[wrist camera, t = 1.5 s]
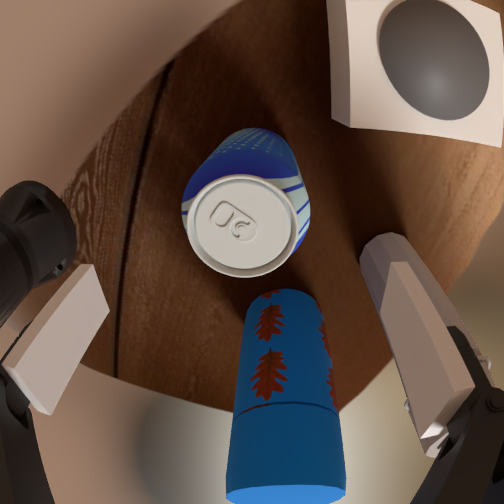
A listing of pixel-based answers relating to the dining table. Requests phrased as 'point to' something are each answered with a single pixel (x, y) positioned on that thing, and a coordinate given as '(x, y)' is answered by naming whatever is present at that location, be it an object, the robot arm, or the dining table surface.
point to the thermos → (285, 407)
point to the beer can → (247, 205)
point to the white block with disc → (418, 67)
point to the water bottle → (399, 250)
